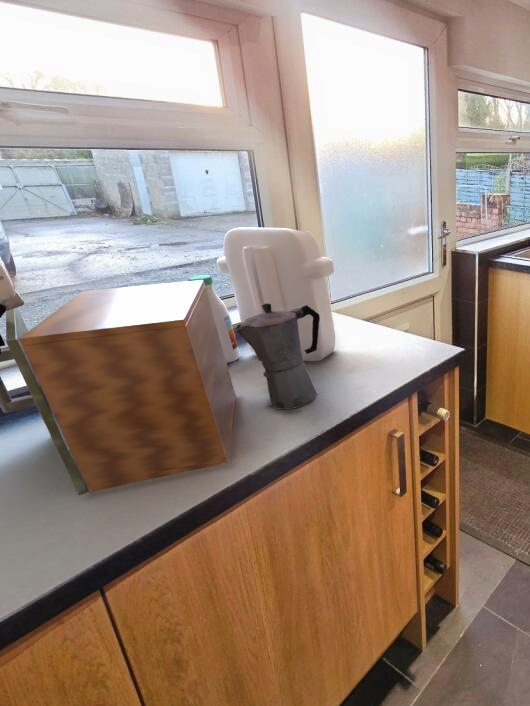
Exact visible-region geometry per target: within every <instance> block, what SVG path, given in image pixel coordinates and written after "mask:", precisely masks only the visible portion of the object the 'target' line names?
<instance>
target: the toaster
mask: <svg viewBox="0 0 530 706" xmlns="http://www.w3.org/2000/svg"><path fill="white" fill-rule="evenodd" d="M222 246H223V256H222V255H221V256H219V257H218V258H217V260H216V266H217V269H218V271H219V272H218V273H219V274H222V275H224V276H228V277H229V280H230V281H229V282H230V284H231V288H232V292H233V296H234V299H235V303H236V307H237V312H238V316H239V319H240V324H241V323H243V322H245V319H248V318H250V317H253V316H256V315H258V314H261V313H265V311H264V310H263V308H262V305H263V304H266V303H268V304H271V311H279V310H284V311H291V310H293V309H297V308H298V309H300V308H301V307H303V306H305V305H307V306H308V307H310V308H311V309H313V310H315V312H317V313H318V314H319V315H320V321H319V330H318V343H317V350H316V351H314V352H311V353H308V354H306V352H305V349H309V348H310V347H311V345H312V340H313V338H312V331H313V330H312V328H313V325H312V323H313V317H312V316H311V315H306V316H305V317H303V318H300V319H298V320H297V323H298V330H299V337H300V344H301V352H302V357H303V361H306V362H307V361H308V362H319V361H322V360H323V359H325V358H327V356H330V355H331V354H332V353H333V352H334V351H335V347H336V332H335V327H334V319H333V313H332V308H331V303H330V296H329V290H328V285H327V279H326V278H328V277H330V276H331V275H333V274H335V265H334V261H333V259H331V258H330V257H328V256H323V255H322V252H321V248H320V246H319V244H318V241H317V240H316V238H315V236H314V234H313V233H312V232H311V231H310V230H308V229H307V230H298V229H294V228H288V227H256V226H255V227H253V226H250V227H249V226H247V227H246V226H240V227H233V228H232V229H229V230H228V231H227V232H226V233H225V234H224V237H223V245H222ZM246 343H247V342H246ZM247 346H248V348H249V349H250V352H251V353H252V354H253V355H254V356H255V357H257V355H256V353H255V351H254V349H253V348H252V347H251V346H250V345H249V344H248V343H247Z"/></svg>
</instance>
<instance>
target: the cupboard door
mask: <svg viewBox="0 0 530 706" xmlns="http://www.w3.org/2000/svg"><path fill="white" fill-rule="evenodd" d="M28 331H29V330H28V328H27V326H26V323H25V321H24V319H23V317H22V315H21V312H20V310H19V307H17V308H14V309H12V310H8V311H6V312H5V342H6V343H5V344H7V347H5V348H1V354H0V363H3V362H8V361H13V360H14V362H15V364H16V366H17V368H18V371H19V372H20V374H21V376H22V378H23V380H24V383H25V384H26V386H27V387H26V388H27V389H28V391H29V393H30V394H28V395H24V396H20V397H15V398H12V397H11V395H10V392H9V391H8V389H7V386H6V384H5V382H4V380H3V379H2V377H1V375H0V408H1V409H0V410H1V411H2V412H3V413H5V414H9V413H13V412H17V411H20V410H25V409H28V408H34V407H36V408H37V410H38V412H39V415H40V416H41V418H42V420H43V423H44V425H45V427H46V429H47V431H48V433H49V436H50V438H51V440H52V441H53V444H54V446H55V448H56V450H57V452H58V454H59V456H60V458H61V461H62V463H63V465H64V467H65V469H66V471H67V473H68V475H69V477H70V479H71V481H72V484H73V486H74V488H75V491H76V492H77V494H78V495H82V494H85V493H87V492H88V488H87V485H86V483H85V481H84V479H83V477H82V474H81V472H80V470H79V468H78V466H77V464H76V461H75V459H74V457H73V455H72V453H71V451H70V448H69V446H68V444H67V442H66V440H65V438H64V435H63V433H62V431H61V429H60V427H59V425H58V422H57V420H56V418H55V416H54V414H53V412H52V409H51V407H50V405H49V403H48V401H47V399H46V396H45V394H44V392H43V390H42V388H41V386H40V383H39V381H38V379H37V377H36V375H35V373H34V370H33V368H32V366H31V364H30V362H29V360H28V357H27V355H26V353H25V351H24V349H23V347H22V344H21V342H20V340H19V338H20V337H22V336H23V335H24V334H26V333H27V332H28Z"/></svg>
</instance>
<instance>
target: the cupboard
mask: <svg viewBox="0 0 530 706" xmlns="http://www.w3.org/2000/svg"><path fill="white" fill-rule="evenodd" d="M19 340H20V342H21V344H22V347H23V349H24V351H25V353H26V355H27V357H28V360H29V362H30V364H31V366H32V368H33V370H34V373H35V375H36V377H37V379H38V381H39V383H40V386H41V388H42V390H43V392H44V394H45V396H46V399H47V401H48V403H49V405H50V407H51V409H52V412H53V414H54V416H55V418H56V420H57V422H58V425H59V427H60V429H61V431H62V433H63V435H64V438H65V440H66V442H67V444H68V446H69V448H70V451H71V453H72V455H73V457H74V459H75V461H76V464H77V466H78V468H79V470H80V472H81V474H82V477H83V479H84V481H85V485H86V488H87V491H88V492H89V493H94V492H98V491H103V490H108V489H112V488H117V487H122V486H126V485H131V484H136V483H140V482H145V481H149V480H155V479H159V478H164V477H169V476H172V475H178V474H182V473H186V472H192V471H196V470H201V469H206V468H210V467H216V466H220V465H224V464H227V463H228V462H229V454H230V449H231V448H230V447H231V439H232V433H233V423H234V416H235V409H236V401H237V395H236V392H235V387H234V384H233V380H232V377H231V373H230V370H229V366H228V363H226V359H225V355H224V352H223V348H222V345H221V341H220V337H219V334H218V330H217V327H216V323H215V319H214V316H213V312H212V309H211V305H210V301H209V298H208V294H207V291H206V287H205V283H204V280H198V281H188V280H187V281H178V282H167V283H156V284H145V285H144V284H143V285H134V286H123V287H113V288H111V287H110V288H101V289H92V290H82V291H81V292H79V293H78V294H76V296H74V297H72V298H71V299H70V300H69V301H67V302H66V303H64V304H63V305H62V306H61V307H59V308H58V309H56V310H55V311H54V312H52V313H51V314H50V315H49V316H47V317H46V318H44V319H43V320H41V322H39V323H38V324H36V325H35V326H34V327H32V328H31V329H30V330H28V332H27V333H26V334H24V335H23V336H22V337H20V338H19ZM228 464H229V463H228Z"/></svg>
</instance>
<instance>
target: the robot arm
mask: <svg viewBox="0 0 530 706" xmlns="http://www.w3.org/2000/svg"><path fill="white" fill-rule="evenodd" d="M23 306H25V301H24V298H22V296H21V295H20V294H19V292H18V291H16V286H15V284H14V280H13V279H12V276H11V275H10V273H9V270H8V268H7V266H6V264H5V262H4V260H3V259H2V257H1V256H0V319H1V318H2V317H3V315H4V314H6V311H8V310H12V309H14V308H20V307H23ZM5 346H6V343H5V340H4V338H3V336H2V334H1V333H0V354H1V349H2V348H1V347H5Z"/></svg>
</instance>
